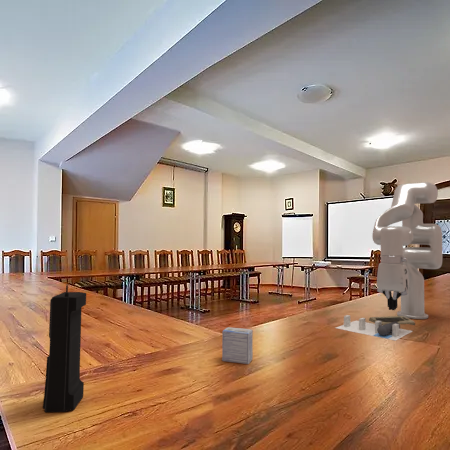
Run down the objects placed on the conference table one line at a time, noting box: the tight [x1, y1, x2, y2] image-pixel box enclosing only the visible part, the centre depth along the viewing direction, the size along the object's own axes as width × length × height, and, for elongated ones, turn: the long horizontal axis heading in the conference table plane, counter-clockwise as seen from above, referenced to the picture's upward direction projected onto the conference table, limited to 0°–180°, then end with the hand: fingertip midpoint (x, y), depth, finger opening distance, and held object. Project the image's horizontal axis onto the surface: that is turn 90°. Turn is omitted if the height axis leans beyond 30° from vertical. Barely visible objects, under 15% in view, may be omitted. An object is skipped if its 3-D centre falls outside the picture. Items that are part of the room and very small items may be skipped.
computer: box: [368, 315, 416, 326], centre depth 143 cm, size 16×8×3 cm, turn 102°
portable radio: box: [42, 283, 87, 413], centre depth 72 cm, size 8×6×25 cm
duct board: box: [335, 314, 413, 341], centre depth 131 cm, size 18×22×5 cm
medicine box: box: [221, 326, 254, 365], centre depth 99 cm, size 8×4×9 cm, turn 71°
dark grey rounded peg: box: [377, 321, 401, 336], centre depth 125 cm, size 14×3×3 cm, turn 135°
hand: (392, 309), depth 129 cm, fingers closed
